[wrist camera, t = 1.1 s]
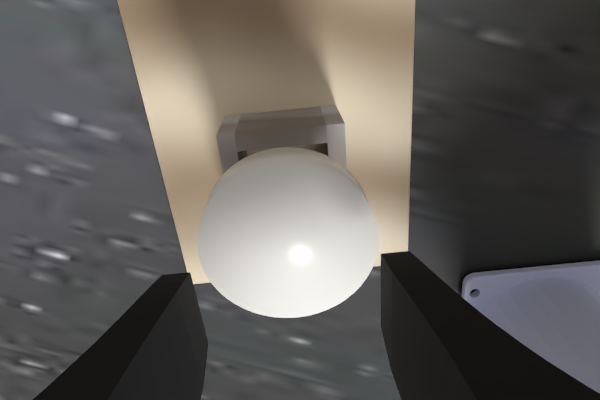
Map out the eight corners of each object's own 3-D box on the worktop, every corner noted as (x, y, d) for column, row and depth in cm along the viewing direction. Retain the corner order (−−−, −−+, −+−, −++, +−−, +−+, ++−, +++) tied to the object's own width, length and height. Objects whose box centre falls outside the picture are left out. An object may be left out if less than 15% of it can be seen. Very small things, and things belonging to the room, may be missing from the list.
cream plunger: (357, 240, 16) (379, 309, 12) (229, 252, 16) (215, 325, 12) (353, 113, 13) (378, 154, 10) (204, 128, 13) (178, 173, 10)
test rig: (401, 251, 20) (424, 298, 17) (194, 271, 20) (178, 322, 17) (417, -435, 11) (473, -611, 8) (29, -395, 11) (-74, -552, 8)
